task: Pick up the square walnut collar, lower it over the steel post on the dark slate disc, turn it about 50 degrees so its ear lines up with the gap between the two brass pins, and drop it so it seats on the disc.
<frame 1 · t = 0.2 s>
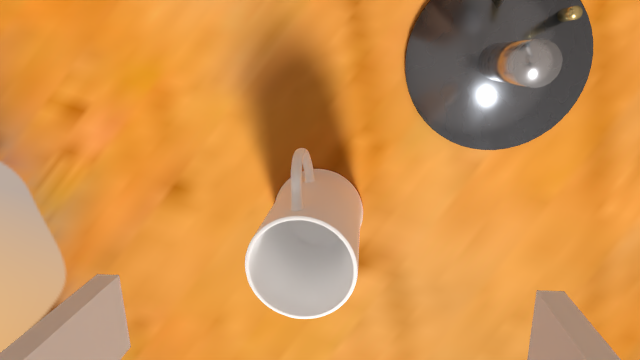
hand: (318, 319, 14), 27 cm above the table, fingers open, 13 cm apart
mug: (318, 194, 42), on the table
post: (495, 61, 36), on the table
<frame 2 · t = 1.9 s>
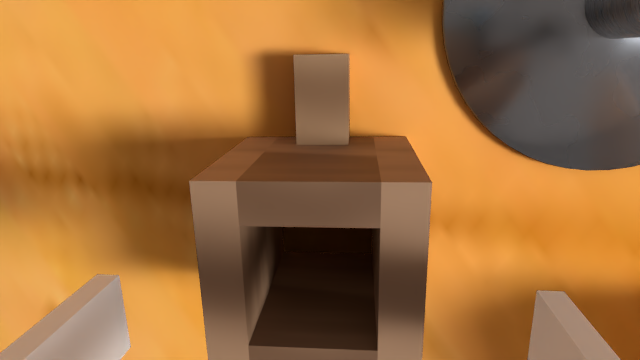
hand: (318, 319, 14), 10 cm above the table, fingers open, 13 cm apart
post: (616, 3, 19), on the table
collar: (326, 211, 23), on the table
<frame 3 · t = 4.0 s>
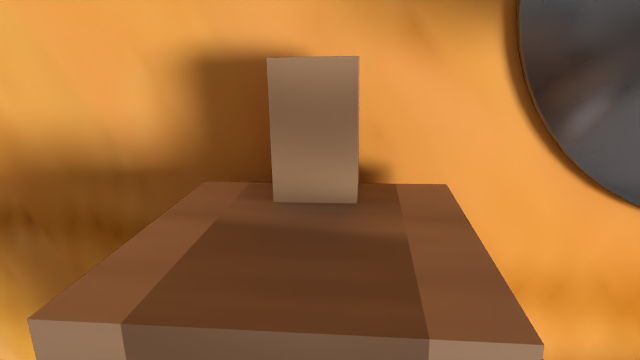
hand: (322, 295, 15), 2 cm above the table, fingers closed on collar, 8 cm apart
collar: (323, 290, 15), point 2 cm above the table, touching gripper
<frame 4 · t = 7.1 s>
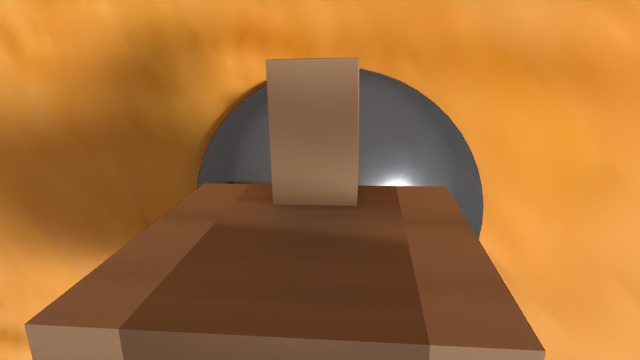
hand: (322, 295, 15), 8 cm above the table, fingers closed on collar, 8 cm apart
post: (335, 212, 23), on the table
collar: (323, 293, 15), point 8 cm above the table, touching gripper
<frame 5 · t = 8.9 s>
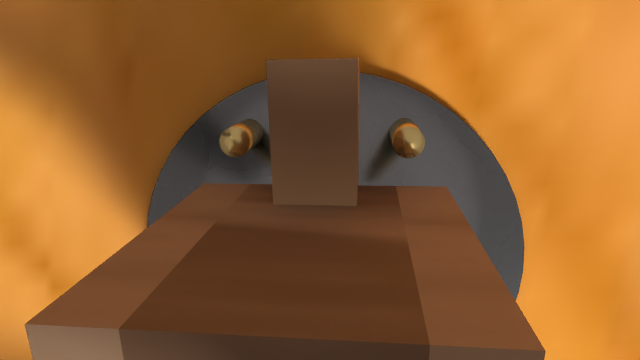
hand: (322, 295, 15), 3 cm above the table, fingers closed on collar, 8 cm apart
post: (328, 258, 18), on the table
collar: (323, 293, 15), point 2 cm above the table, touching gripper
when the fingers open (2 cm above the table, at t = 10.1 s): collar drops 2 cm, resting on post.
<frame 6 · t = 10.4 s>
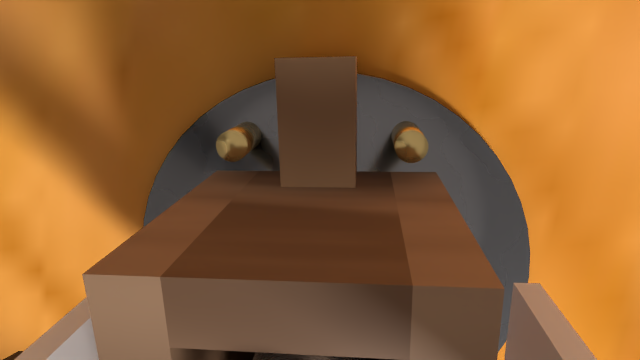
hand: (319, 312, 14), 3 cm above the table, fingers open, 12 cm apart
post: (328, 265, 17), on the table
collar: (325, 270, 17), resting on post
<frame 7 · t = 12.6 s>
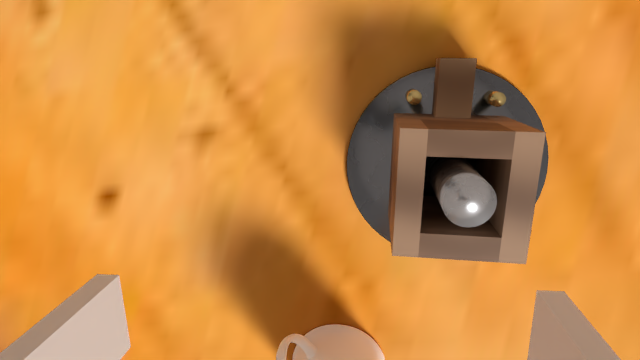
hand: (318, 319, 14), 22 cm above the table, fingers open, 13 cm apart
mug: (331, 348, 39), on the table
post: (443, 165, 34), on the table
collar: (443, 166, 33), resting on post
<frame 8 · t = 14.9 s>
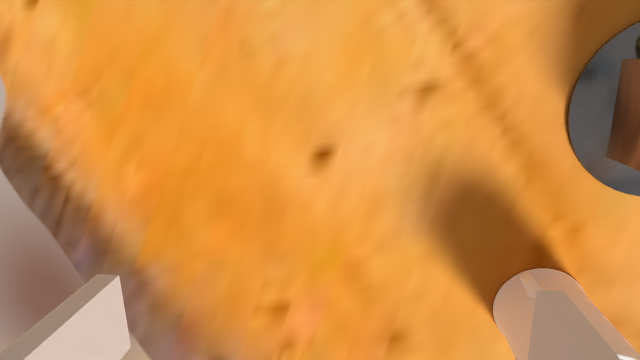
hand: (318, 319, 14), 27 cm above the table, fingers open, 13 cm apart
mug: (531, 292, 41), on the table
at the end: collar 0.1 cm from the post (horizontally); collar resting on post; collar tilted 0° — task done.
